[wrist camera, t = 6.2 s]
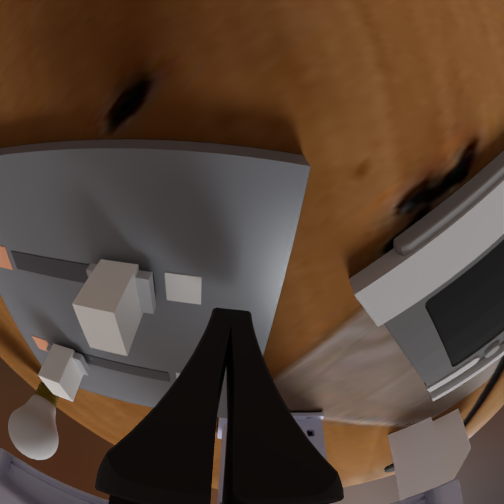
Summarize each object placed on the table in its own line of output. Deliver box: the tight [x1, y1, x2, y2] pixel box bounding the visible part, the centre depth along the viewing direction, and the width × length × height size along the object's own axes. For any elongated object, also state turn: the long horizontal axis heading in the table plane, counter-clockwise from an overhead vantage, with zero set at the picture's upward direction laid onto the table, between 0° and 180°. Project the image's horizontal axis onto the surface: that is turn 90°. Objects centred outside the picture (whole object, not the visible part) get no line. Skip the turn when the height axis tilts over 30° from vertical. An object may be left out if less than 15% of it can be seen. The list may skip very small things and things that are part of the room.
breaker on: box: [38, 343, 91, 402], centre depth 15 cm, size 3×3×3 cm
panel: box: [0, 139, 310, 418], centre depth 15 cm, size 18×20×2 cm
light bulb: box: [8, 382, 59, 460], centre depth 19 cm, size 6×6×10 cm
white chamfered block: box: [388, 409, 471, 501], centre depth 26 cm, size 11×11×12 cm
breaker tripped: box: [72, 259, 156, 356], centre depth 11 cm, size 3×3×3 cm
